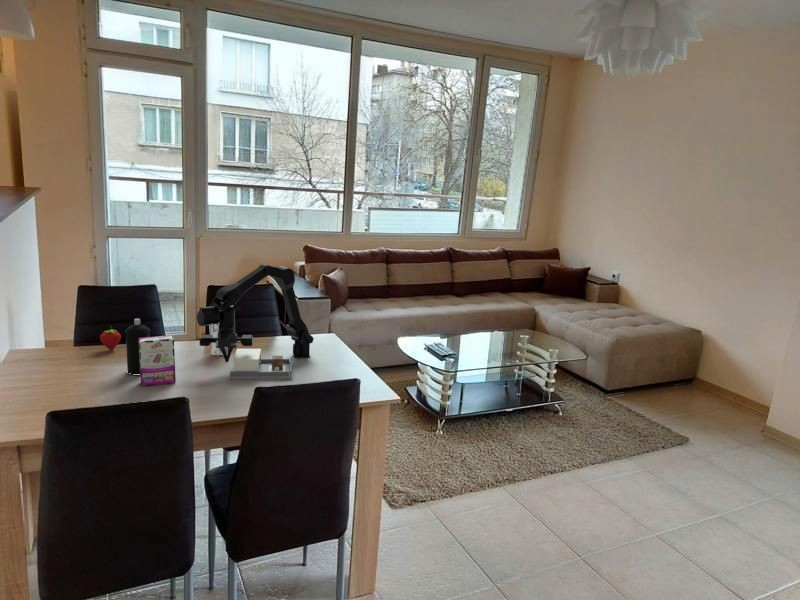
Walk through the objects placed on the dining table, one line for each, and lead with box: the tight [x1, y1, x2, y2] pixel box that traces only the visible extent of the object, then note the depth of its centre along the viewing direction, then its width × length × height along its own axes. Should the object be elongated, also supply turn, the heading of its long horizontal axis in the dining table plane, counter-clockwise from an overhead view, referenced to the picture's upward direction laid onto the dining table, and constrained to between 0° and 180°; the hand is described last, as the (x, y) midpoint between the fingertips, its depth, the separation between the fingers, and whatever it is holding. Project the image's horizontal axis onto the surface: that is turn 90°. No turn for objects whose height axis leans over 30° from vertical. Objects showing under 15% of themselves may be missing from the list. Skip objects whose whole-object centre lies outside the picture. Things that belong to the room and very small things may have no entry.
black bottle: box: [124, 318, 151, 374], centre depth 194 cm, size 8×8×20 cm
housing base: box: [229, 356, 293, 380], centre depth 204 cm, size 22×16×3 cm
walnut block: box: [271, 355, 284, 370], centre depth 204 cm, size 4×4×4 cm
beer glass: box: [208, 322, 223, 357], centre depth 219 cm, size 7×7×15 cm
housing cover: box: [232, 348, 262, 371], centre depth 202 cm, size 9×13×6 cm
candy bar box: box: [139, 334, 177, 387], centre depth 185 cm, size 11×5×16 cm, turn 117°
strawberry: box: [99, 326, 122, 351], centre depth 215 cm, size 6×8×10 cm
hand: (227, 362), depth 201 cm, fingers closed
